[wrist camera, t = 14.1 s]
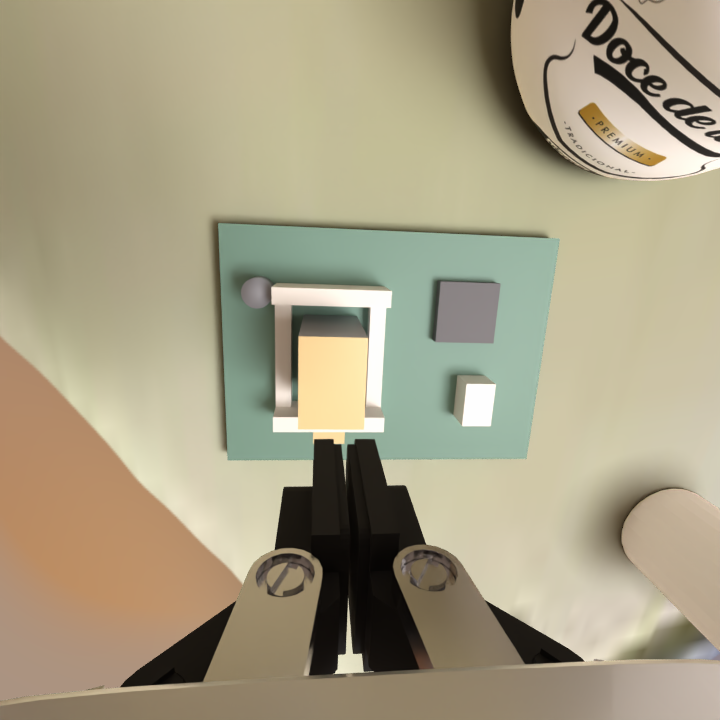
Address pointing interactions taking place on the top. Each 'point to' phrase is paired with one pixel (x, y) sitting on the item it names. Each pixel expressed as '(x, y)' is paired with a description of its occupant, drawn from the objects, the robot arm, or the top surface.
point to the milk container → (623, 83)
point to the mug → (679, 553)
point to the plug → (332, 373)
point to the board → (387, 337)
